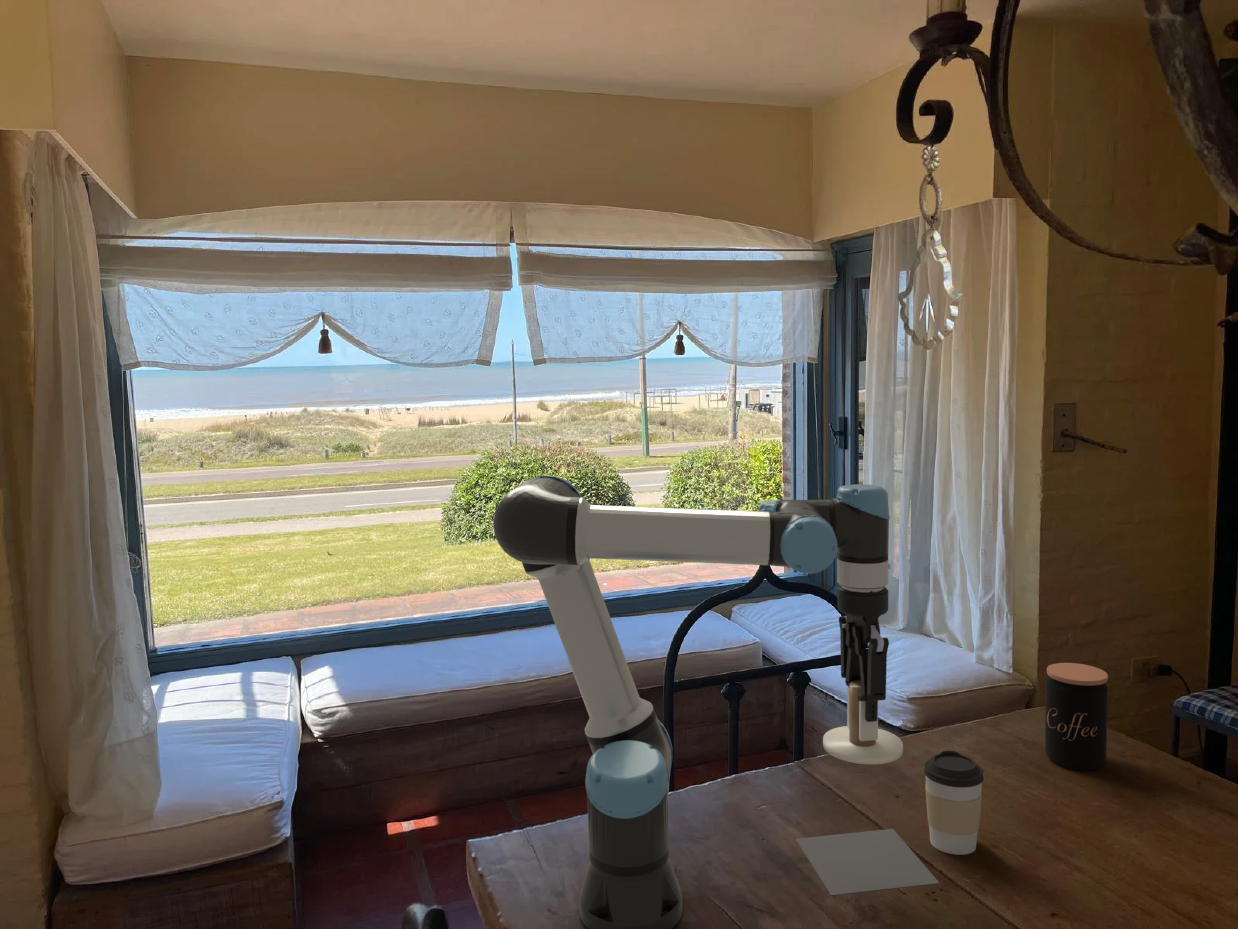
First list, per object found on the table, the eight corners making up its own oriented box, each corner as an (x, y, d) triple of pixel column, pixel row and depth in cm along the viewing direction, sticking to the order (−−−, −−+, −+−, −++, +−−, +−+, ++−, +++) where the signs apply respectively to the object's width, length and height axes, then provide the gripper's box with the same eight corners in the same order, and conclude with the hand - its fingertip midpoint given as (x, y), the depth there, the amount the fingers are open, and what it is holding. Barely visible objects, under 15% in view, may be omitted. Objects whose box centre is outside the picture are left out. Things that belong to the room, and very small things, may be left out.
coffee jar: (1035, 760, 172) (1037, 672, 170) (1057, 744, 179) (1059, 659, 177) (1094, 778, 164) (1096, 685, 162) (1114, 759, 171) (1116, 670, 170)
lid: (840, 767, 129) (840, 702, 128) (811, 735, 141) (811, 675, 140) (917, 760, 131) (917, 696, 130) (882, 729, 143) (882, 669, 142)
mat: (831, 900, 129) (831, 895, 129) (795, 843, 145) (795, 838, 145) (939, 888, 131) (939, 883, 131) (892, 833, 147) (892, 828, 147)
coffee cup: (988, 865, 137) (989, 773, 135) (927, 860, 139) (928, 770, 137) (976, 835, 146) (977, 749, 144) (919, 831, 147) (920, 746, 146)
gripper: (911, 598, 126) (910, 754, 128) (863, 572, 142) (863, 711, 145) (861, 601, 125) (861, 759, 127) (819, 575, 141) (819, 714, 144)
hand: (862, 733), depth 136 cm, fingers closed on lid, 4 cm apart
